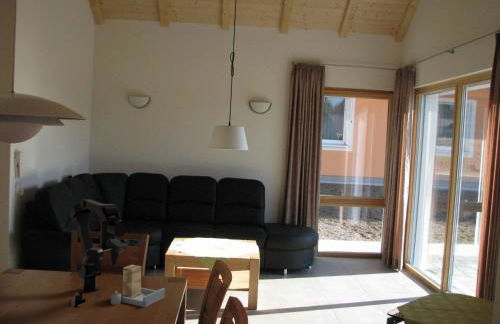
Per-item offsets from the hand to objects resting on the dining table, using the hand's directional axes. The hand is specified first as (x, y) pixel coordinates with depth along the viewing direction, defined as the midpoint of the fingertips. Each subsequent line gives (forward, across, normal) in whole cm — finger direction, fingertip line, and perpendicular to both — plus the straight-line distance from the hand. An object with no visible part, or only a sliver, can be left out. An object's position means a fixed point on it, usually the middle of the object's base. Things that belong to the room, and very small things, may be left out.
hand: (106, 268), depth 199 cm
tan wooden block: (+12, +4, -11) cm, 17 cm away
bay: (+13, +2, -16) cm, 20 cm away
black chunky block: (+14, -11, +5) cm, 18 cm away
